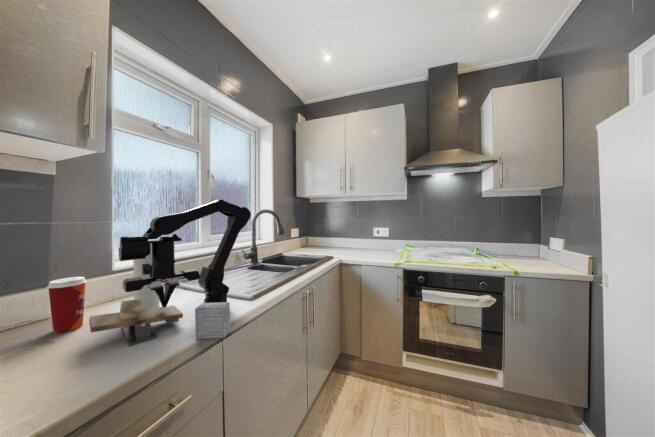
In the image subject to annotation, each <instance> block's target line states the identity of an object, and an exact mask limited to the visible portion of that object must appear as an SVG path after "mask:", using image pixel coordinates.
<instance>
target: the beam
mask: <svg viewBox="0 0 655 437" xmlns="http://www.w3.org/2000/svg"><path fill="white" fill-rule="evenodd" d="M119 314H120V311H119V312H114V313H113V312H112V313H104V314H97V315H96V314H95V315H91V316H89V320H88V321H89V322H88V323H89V329H90V333H95V332H103V331H108V330H109V331H110V330H115V329H122V327H128V326H135V324H136V323H140V322H144V321H148V320H149V321H150V324H152V323H158V322H165V323H166V324H172V323H178V322H179V321H180V319H182V318H183V316H184V312H181V310H180V309H178V308H177V307H176V306H175V305H169V306H166V307H162V306H161V307H160V306H159V308H151V309H143V310H141V311H140V317H136V318H129V319H122V320H121V318H120V316H119Z"/></svg>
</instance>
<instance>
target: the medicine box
mask: <svg viewBox="0 0 655 437" xmlns="http://www.w3.org/2000/svg"><path fill="white" fill-rule="evenodd" d="M230 307H231V306H230V302H228V301H227V302H215V303H204V302H202V303H201V304H200V305H198V306H197V307H196V308H194V320H195V321H194V322H195V325H194V326H195V340H206V339H207V340H211V339H212V340H213V339H225V338H226V337H227V336H228V334H229V332H231V314H230V312H231V310H230Z"/></svg>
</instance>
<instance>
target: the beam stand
mask: <svg viewBox="0 0 655 437" xmlns="http://www.w3.org/2000/svg"><path fill="white" fill-rule="evenodd" d="M121 329H122V333H123V335H124V337H125V340H126V343H127V345H128V346H129V347H133V346H136V345H140V344H142V343H146V342H148V341H151V340H154V339H157V338H158V334H157V331H155V329H154V328H153V326H152V325H151V323H150V321H149V320H148V321H144V322H140V323H136V324H135V326H128V327H122V328H121Z"/></svg>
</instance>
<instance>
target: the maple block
mask: <svg viewBox="0 0 655 437" xmlns="http://www.w3.org/2000/svg"><path fill="white" fill-rule="evenodd" d="M141 304H142V302H141V301H140V300H139V299H137V300H134V299H129V300H121V303H120V308H119V312H120V314H119V316H120V318H121V320H122V319H129V318H136V317H140V311H141Z"/></svg>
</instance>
